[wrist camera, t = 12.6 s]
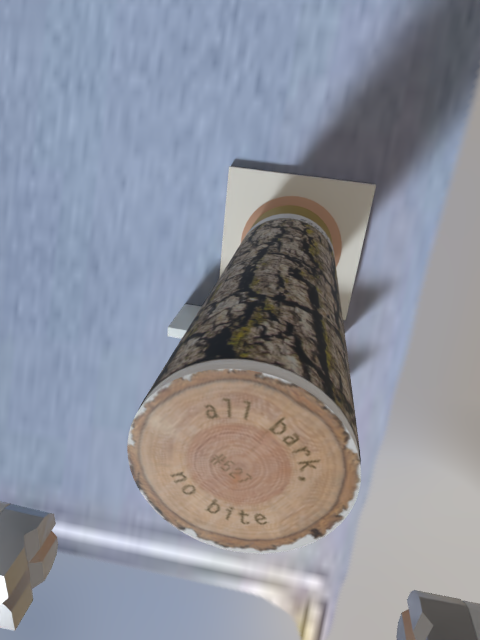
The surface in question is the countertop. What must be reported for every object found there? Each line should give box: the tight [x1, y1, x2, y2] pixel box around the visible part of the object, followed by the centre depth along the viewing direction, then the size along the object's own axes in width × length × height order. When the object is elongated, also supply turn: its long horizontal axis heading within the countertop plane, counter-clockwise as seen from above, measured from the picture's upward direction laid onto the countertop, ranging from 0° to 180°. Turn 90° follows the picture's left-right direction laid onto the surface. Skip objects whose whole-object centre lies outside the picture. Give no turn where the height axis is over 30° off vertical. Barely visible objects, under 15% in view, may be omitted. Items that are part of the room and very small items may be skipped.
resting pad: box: [219, 166, 376, 320], centre depth 36 cm, size 11×11×1 cm
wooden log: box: [127, 205, 361, 554], centre depth 24 cm, size 7×7×25 cm
